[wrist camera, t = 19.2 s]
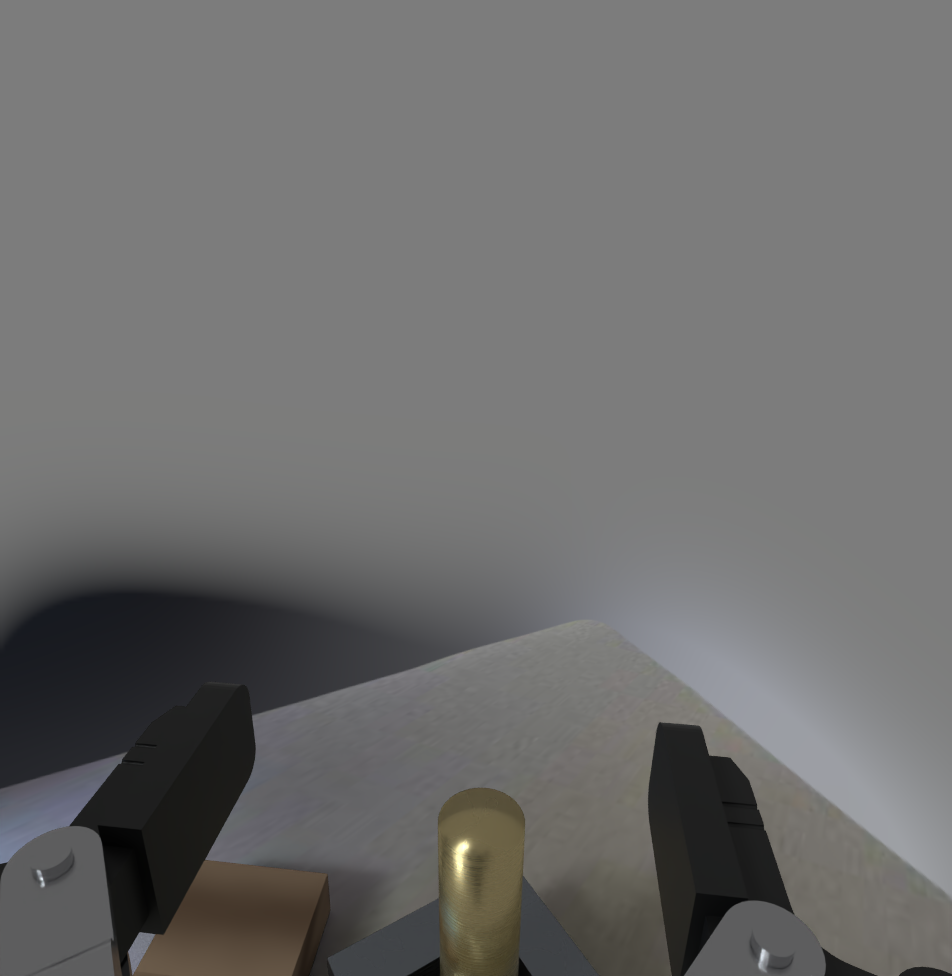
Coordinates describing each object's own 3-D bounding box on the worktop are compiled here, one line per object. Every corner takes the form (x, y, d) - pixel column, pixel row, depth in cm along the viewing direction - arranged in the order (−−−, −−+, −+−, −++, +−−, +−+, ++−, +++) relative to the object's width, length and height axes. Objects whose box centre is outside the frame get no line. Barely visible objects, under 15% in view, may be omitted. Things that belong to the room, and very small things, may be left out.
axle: (428, 1053, 35) (422, 809, 30) (488, 1013, 37) (493, 776, 31) (465, 1127, 32) (467, 872, 27) (528, 1080, 34) (542, 832, 29)
